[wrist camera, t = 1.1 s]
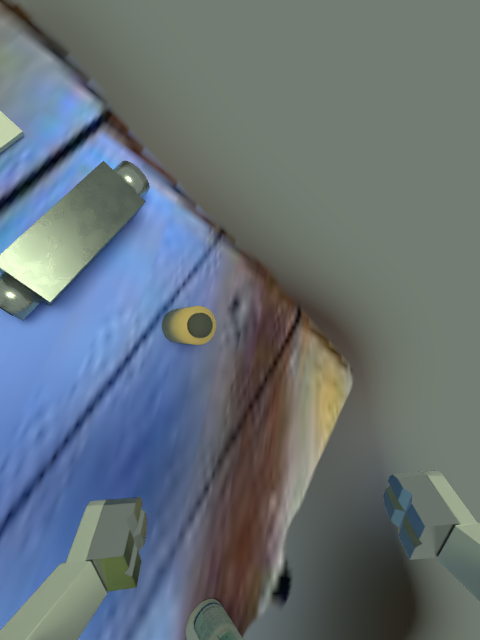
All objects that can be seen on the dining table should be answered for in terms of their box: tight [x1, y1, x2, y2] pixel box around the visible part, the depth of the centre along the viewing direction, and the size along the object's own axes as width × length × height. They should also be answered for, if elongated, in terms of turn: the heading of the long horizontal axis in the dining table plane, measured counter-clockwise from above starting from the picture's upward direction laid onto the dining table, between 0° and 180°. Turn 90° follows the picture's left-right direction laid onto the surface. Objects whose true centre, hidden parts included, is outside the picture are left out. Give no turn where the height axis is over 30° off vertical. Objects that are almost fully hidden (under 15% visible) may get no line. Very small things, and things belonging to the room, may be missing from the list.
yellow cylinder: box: [162, 306, 216, 345], centre depth 42 cm, size 5×5×8 cm
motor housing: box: [0, 161, 149, 321], centre depth 36 cm, size 22×6×6 cm, turn 143°
